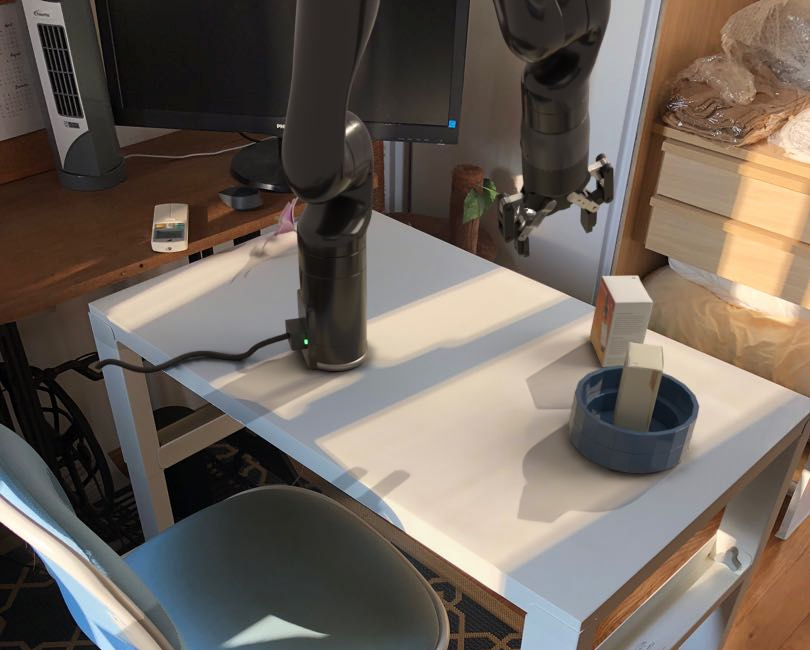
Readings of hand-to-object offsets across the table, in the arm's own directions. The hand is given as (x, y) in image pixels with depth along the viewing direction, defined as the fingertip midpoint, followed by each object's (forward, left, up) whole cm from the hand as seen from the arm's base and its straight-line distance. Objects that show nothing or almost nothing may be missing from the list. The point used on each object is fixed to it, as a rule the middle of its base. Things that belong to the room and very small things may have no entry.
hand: (555, 240), depth 116 cm
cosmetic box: (+6, -17, -20) cm, 27 cm away
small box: (+14, +3, -21) cm, 25 cm away
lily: (-26, +49, -21) cm, 59 cm away
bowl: (+6, -17, -21) cm, 27 cm away
